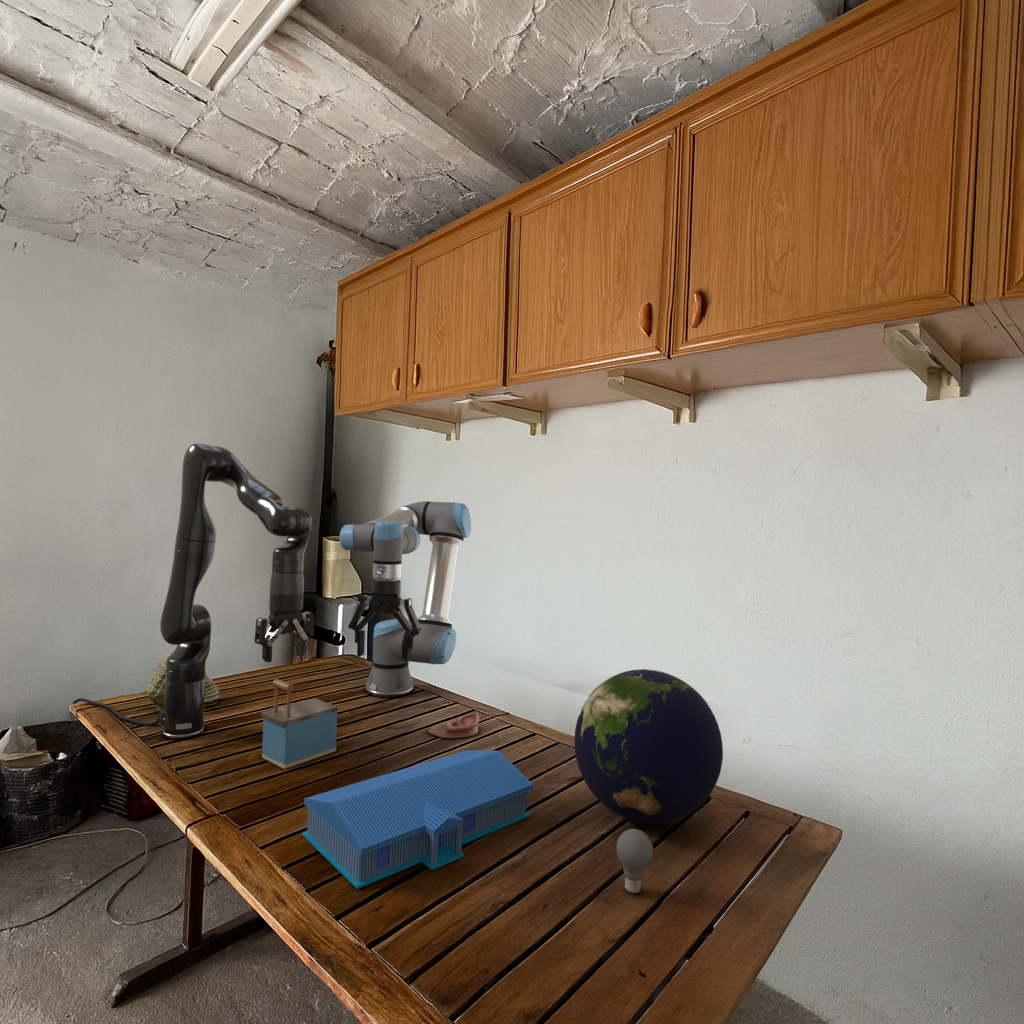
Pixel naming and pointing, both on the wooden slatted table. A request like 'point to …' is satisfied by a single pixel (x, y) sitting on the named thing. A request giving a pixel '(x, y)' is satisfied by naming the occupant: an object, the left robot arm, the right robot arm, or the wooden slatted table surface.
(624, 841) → the light bulb
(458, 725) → the anatomical model
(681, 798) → the globe
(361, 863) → the model building
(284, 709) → the lid
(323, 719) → the chest
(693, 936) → the wooden slatted table surface
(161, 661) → the fossil
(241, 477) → the left robot arm
